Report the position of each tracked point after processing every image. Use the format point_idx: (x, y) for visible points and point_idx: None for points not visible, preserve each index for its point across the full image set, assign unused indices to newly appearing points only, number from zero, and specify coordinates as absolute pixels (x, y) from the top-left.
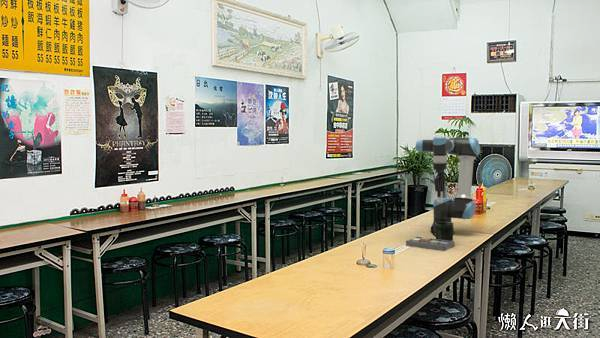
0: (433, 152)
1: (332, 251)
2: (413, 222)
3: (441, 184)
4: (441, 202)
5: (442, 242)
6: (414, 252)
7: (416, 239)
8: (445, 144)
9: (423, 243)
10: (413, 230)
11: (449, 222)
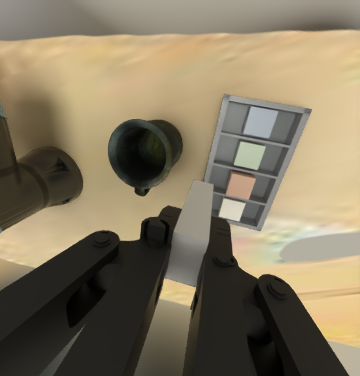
0: None
1: (342, 340)
2: (10, 249)
3: (128, 368)
4: (213, 184)
5: (260, 127)
6: (317, 190)
7: (238, 209)
8: None
9: (280, 182)
10: (76, 237)
11: (112, 142)
